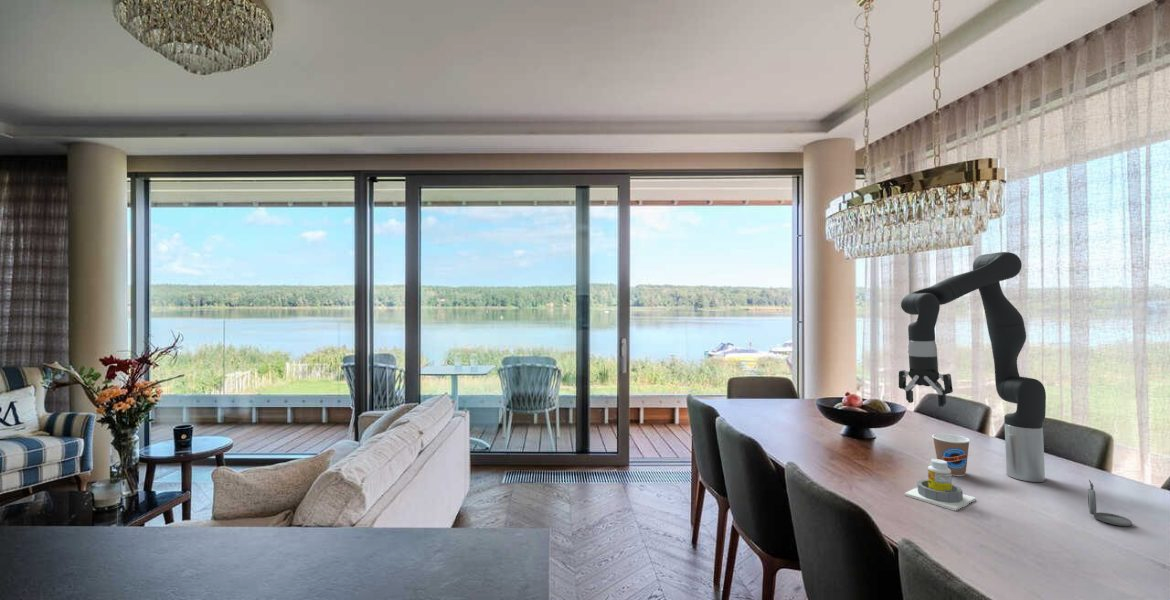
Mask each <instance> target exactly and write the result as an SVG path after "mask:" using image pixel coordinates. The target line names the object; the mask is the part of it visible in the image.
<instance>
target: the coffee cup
mask: <svg viewBox="0 0 1170 600" xmlns="http://www.w3.org/2000/svg"><path fill="white" fill-rule="evenodd" d="M931 437H932V439H933V444H934V449H935V454H936V455H935V456H936V459H939V460H944V461H946V462H947V465H948V468H949V469H950V470H951V476H952V475H953V476H954V477H963V476H965V475H966V473H967V468H968V467H967V465H968V457H969V447H970V442H971V439H970V438H968V437H966V436H962V435H957V434H951V433H949V434H948V433H934V434H932V436H931ZM953 476H952V477H953Z"/></svg>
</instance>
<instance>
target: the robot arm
mask: <svg viewBox="0 0 1170 600" xmlns="http://www.w3.org/2000/svg"><path fill="white" fill-rule="evenodd" d="M1022 265H1023V263H1022V260H1021V258H1020V257H1019V256H1018V255H1017V254H1016V253H1013V252H1010V251H1002V252H1001V251H1000V252H994V253H993V252H991V253H986V254H981V255H977V257H975V259H974V261H973V263H972V270H970V271H967V272H964V273H960V274H956V275H954V276H951V277H948V278H946V279H944V280H941V281H939V282H937V283H935V284H933V285H931V286H928V287H925V288H922V289H918V290H916V291H913V292H910V293H908V294H906V295H905V296H904V297H902V299H901V303H900V308H901V309H902V311H903V312H904V313H905V314H907V315H915V316H917V319H916V321H915V322H914V321H913V322H911V323H909V324H908V328H907V330H908V331H907V332H908V335H907V336H908V347H907V348H908V351H907V353H908V365H909V366H908V367H909V370H900V371H898V388H899V389H902V390H904V391H905V399H906V401H907V402H908V404H909V403H910V404H912V403H914V390H913V389H914V388H915V387H916V386H920V387H921V386H925V387H931V388H932V389H933V390H935V391H936V393H937V401H938V402H937V404H938V407H940V408H943V407H944V406H945V405H946V404H947V400H946V399H947V397H946V396H947V395H948V394H953V393H954V389H953V383H952V376H951V374H950V373H941V374H940V373H939V359H938V348H937V342H936V330H935V328H936V325H937V321H938V317H939V313H940V309H941V308H940V307H941V306H942V305H946V304H948V303H951V302H953V301H955V300H957V299H959V298H961V297H963V296H965V295H967V294H969V293H972V292H974V291H976V290H978V291H979V295H980V297H981V301H982V307H983V310H984V315H985V322H986V326H987V331H988V336H989V341H990V344H991V350H992V358H993V364H994V381H995V389H996V392H997V395H998V397H1000V399H1001V400H1003V401H1005V402H1006V403H1007V402H1008V403H1011V404H1015V405H1016V411H1014V412H1012V413H1006V414H1004V417H1003V422H1004V442H1005V446H1004V447H1005V467H1006V475H1007V476H1008V477H1011V478H1013V479H1016V480H1021V481H1024V482H1025V481H1026V482H1033V483H1042V482H1045V481H1046V474H1045V473H1046V471H1045V450H1044V449H1045V447H1044V446H1045V445H1044V444H1045V443H1044V427H1043V423H1044V421H1045V419H1046V407H1047V406H1046V404H1047V402H1046V401H1047V393H1046V389H1045V386H1044V384H1043V383H1042V382H1041V381H1040V380H1038V379H1036V378H1032V377H1025V376H1020V374H1019V367H1018V358H1019V355H1020V353H1021V351H1022V349H1023V348H1024V345H1025V343H1026V340H1027V332H1026V326H1025V321H1024V318H1023V316H1022V314H1021V313H1020V312H1019V310H1018V309H1017V308H1016V307H1015V306H1014V305H1013V304H1012V303H1011V301H1010V300H1009V299H1008V298H1007V297H1006V296H1005V293H1004V292H1003V290H1002V286H1001V282H1002V281H1006V280H1009V279H1013V278H1014V277H1016V276H1018V274H1020V272H1021V270H1022ZM908 377H910V379H911V380H910V382H909V383H908V384H907V378H908ZM939 379H940V380H941V381H942V382H943V386H944V388H943V386H942V384H941V383H940V382H939Z"/></svg>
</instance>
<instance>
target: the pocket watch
mask: <svg viewBox="0 0 1170 600" xmlns="http://www.w3.org/2000/svg"><path fill="white" fill-rule="evenodd" d="M1088 483H1089V487H1090V488H1088V489H1087V501H1088V502H1087V503H1088V510H1089V514H1090V515H1092V516H1093V517H1094V518H1095V519H1097V520H1098V521H1100V522H1102V523H1106V524H1110V525H1114V526H1120V527H1129V526H1132V525H1133V521H1132V520H1131V519H1129V518H1127V517H1125V516H1121V515H1118V514H1114V513H1109V512H1101V511H1099V512H1097V498H1096V497H1097V496H1096V491H1095V490H1094V487H1095V486H1094V483H1092V482H1091V480H1090V479H1088Z"/></svg>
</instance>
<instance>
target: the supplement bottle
mask: <svg viewBox="0 0 1170 600" xmlns="http://www.w3.org/2000/svg"><path fill="white" fill-rule="evenodd" d="M927 477H928V479H927V480H928V483H929V488H930V489H933V490H937V491H944V492H952V484H953V483H952V475H951V470H950V469H949V468H948V465H947V462H946V461H944V460H939V459H937V458H932V459H930V465H929V466H927Z"/></svg>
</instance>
